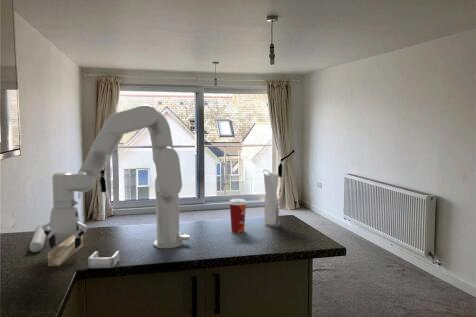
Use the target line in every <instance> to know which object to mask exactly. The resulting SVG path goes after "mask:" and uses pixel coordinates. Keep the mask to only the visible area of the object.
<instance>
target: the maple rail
mask: <svg viewBox="0 0 476 317" xmlns="http://www.w3.org/2000/svg"><path fill="white" fill-rule="evenodd" d="M75 238H76V237H75V235H74V234H71V236H70V237H68V238H67V239H65V240H64V241H62V242H61V243H60V244H59V245H57V246H55V247H53V248H52V249H51V250H50V251H49V252H47V265H48V267H55V266H57V267H59V265H60V266H61V265H62V264H63V263H65V261H67V260H68V259H69V258H70V257H72V256H73V255H74V254H75V253H76V252H78V250H80V249H82V247H84V234H83V235H82V236H81V245H80V246H79V247H78V248H75Z"/></svg>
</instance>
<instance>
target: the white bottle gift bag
mask: <svg viewBox="0 0 476 317" xmlns="http://www.w3.org/2000/svg"><path fill="white" fill-rule="evenodd" d="M265 172H267V173H265ZM279 177H280V174H279V173H278V172H276V171H271V172H270V171H269V170H268V169H263V180H264V191H265V196H264V227H270V228H279V227H280V225H281V223H280V218H279V217H280V216H279V214H280V210H279V203H278V193H277V192H278V185H279Z"/></svg>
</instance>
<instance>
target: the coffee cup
mask: <svg viewBox="0 0 476 317" xmlns="http://www.w3.org/2000/svg"><path fill="white" fill-rule="evenodd" d="M228 204H229V209H230V210H229V211H230V212H229V213H230V227H231V228H230V229H231V233H234V232H235V234H241V233H240V232H242V233H244V232H245V226H246V225H245V222H246V210H247V209H246V205H247V201H246V199H244V198H231V199H230V200H229V202H228Z"/></svg>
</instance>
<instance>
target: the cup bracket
mask: <svg viewBox="0 0 476 317" xmlns="http://www.w3.org/2000/svg"><path fill="white" fill-rule="evenodd" d="M120 258H121V257H120V250H117V251H115V252H114V254H113V255H112V256H111V257H110V256H109V257H99V251H94V252H93V253H92V254H90V256H88V258H87V266H88V269H111V268H112V269H114V268H115V267H116V266H117V264H118V263H119V262H118V261H120V260H121V259H120ZM117 262H118V263H117Z"/></svg>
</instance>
